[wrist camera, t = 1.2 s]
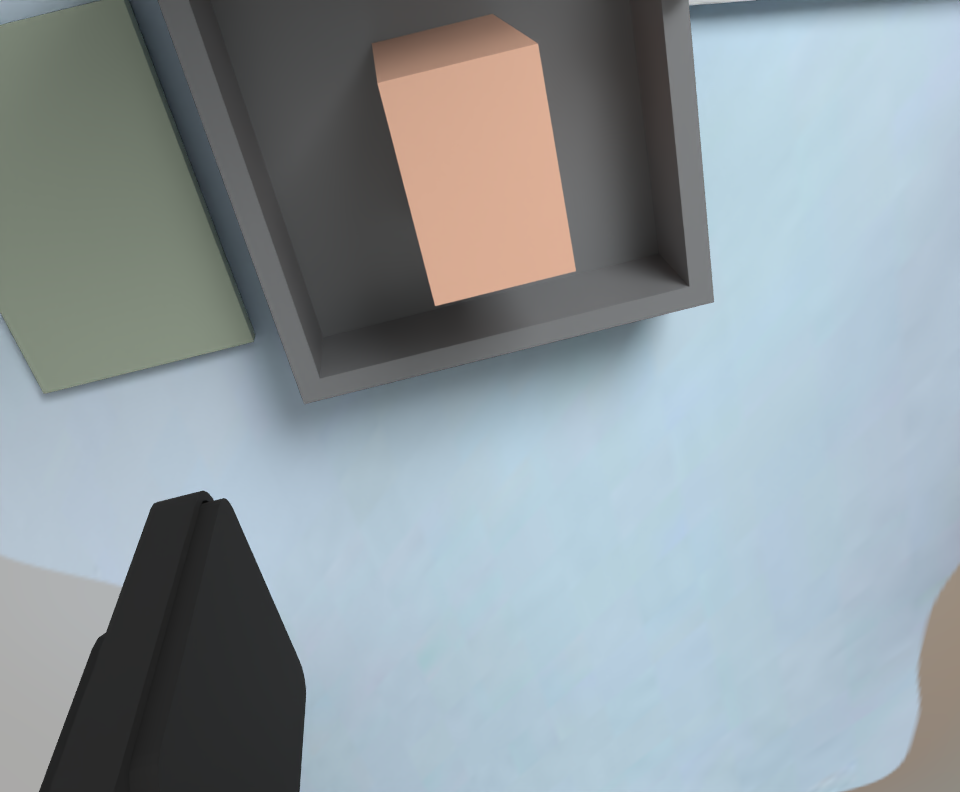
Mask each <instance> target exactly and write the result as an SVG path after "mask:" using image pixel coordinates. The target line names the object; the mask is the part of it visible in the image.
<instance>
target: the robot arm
mask: <svg viewBox="0 0 960 792" xmlns="http://www.w3.org/2000/svg"><path fill="white" fill-rule="evenodd" d="M305 702H306V686H305V679H304V674H303V670H302V666H301V664H300V661H299V659H298V656H297V654H296V652H295V649H294V647H293V645H292V643H291V640H290V638H289V636H288V633H287V631H286V629H285V627H284V624H283V622H282V620H281V617H280V615H279V613H278V611H277V608H276V606H275V604H274V601H273V599H272V597H271V595H270V592H269V590H268V588H267V585H266V583H265V581H264V579H263V576H262V574H261V572H260V569H259V567H258V565H257V563H256V560H255V558H254V556H253V553H252V551H251V549H250V547H249V544H248V542H247V540H246V537H245V535H244V533H243V530H242V528H241V526H240V524H239V521H238V519H237V517H236V514H235V512H234V510H233V508H232V506H231V504H230V503H229V502H228V500H227V499H224V498H223V499H219V500H215V501H214V500H213V498H212V497H211V496H210V495H209V493H208V492H205V491H200V492H196V493H192V494H188V495H184V496H180V497H176V498H172V499H168V500H164V501H160V502H157V503H154V504H153V506H152V508H151V509H150V512H149V515H148V518H147V520H146V523H145V526H144V529H143V532H142V534H141V537H140V540H139V543H138V545H137V548H136V551H135V554H134V557H133V559H132V562H131V565H130V568H129V570H128V573H127V576H126V579H125V582H124V584H123V587H122V590H121V593H120V596H119V598H118V601H117V604H116V607H115V609H114V612H113V615H112V618H111V620H110V623H109V626H108V629H107V632H106V633H105V634H103V635H102V636H100V637H99V638H98V639H97V641H96V643H95V645H94V647H93V648H92V651H91V654H90V656H89V659H88V662H87V664H86V667H85V669H84V672H83V675H82V677H81V681H80V683H79V686H78V688H77V691H76V694H75V696H74V699H73V702H72V705H71V707H70V710H69V713H68V715H67V718H66V721H65V723H64V726H63V729H62V731H61V734H60V737H59V739H58V742H57V745H56V747H55V750H54V753H53V756H52V758H51V761H50V764H49V766H48V769H47V772H46V775H45V777H44V780H43V783H42V785H41V788H40V791H39V792H299V791H300V776H301V761H302V747H303V732H304V717H305Z"/></svg>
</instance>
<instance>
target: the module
mask: <svg viewBox="0 0 960 792" xmlns="http://www.w3.org/2000/svg"><path fill="white" fill-rule="evenodd" d="M372 49H373V56H374V63H375V70H376V77H377V84H378V87H379V91H380V95H381V99H382V103H383V107H384V111H385V114H386V118H387V122H388V126H389V130H390V134H391V138H392V141H393V145H394V149H395V153H396V157H397V161H398V165H399V168H400V172H401V176H402V180H403V184H404V188H405V192H406V195H407V199H408V203H409V207H410V211H411V215H412V219H413V223H414V226H415V230H416V234H417V238H418V242H419V246H420V250H421V253H422V257H423V261H424V265H425V269H426V273H427V277H428V280H429V284H430V288H431V292H432V296H433V300H434V304H435V306H438V305H442V304H446V303H450V302H454V301H458V300H462V299H466V298H470V297H474V296H478V295H482V294H486V293H490V292H494V291H498V290H502V289H506V288H510V287H514V286H518V285H522V284H526V283H530V282H534V281H538V280H542V279H547V278H551V277H555V276H559V275H563V274H567V273H571V272H575V271H576V268H575V262H574V256H573V250H572V244H571V238H570V232H569V226H568V220H567V214H566V208H565V202H564V196H563V190H562V184H561V178H560V172H559V166H558V160H557V154H556V148H555V142H554V136H553V130H552V124H551V118H550V112H549V106H548V100H547V94H546V88H545V82H544V76H543V70H542V64H541V58H540V52H539V46H538V43H536V42H535V41H533V40H532V39H530V38H529V37H527V36H526V35H524V34H523V33H521V32H520V31H518V30H516V29H515V28H513V27H512V26H510V25H509V24H507V23H506V22H504V21H503V20H501V19H500V18H498V17H496V16H495V15H493V14H490V15H486V16H482V17H478V18H473V19H469V20H465V21H461V22H457V23H453V24H449V25H445V26H441V27H437V28H433V29H429V30H425V31H421V32H417V33H413V34H408V35H404V36H400V37H396V38H392V39H388V40H384V41H380V42H376V43H372Z"/></svg>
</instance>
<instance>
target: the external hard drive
mask: <svg viewBox="0 0 960 792" xmlns="http://www.w3.org/2000/svg"><path fill="white" fill-rule="evenodd" d="M739 1H754V0H689V5H701V4H716V3H728V2H739Z"/></svg>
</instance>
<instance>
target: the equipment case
mask: <svg viewBox="0 0 960 792" xmlns="http://www.w3.org/2000/svg"><path fill="white" fill-rule="evenodd" d="M158 3H159V6H160V8H161V11H162V14H163V17H164V19H165V22H166V25H167V28H168V30H169V33H170V36H171V39H172V41H173V44H174V47H175V50H176V52H177V55H178V58H179V61H180V63H181V66H182V69H183V72H184V74H185V77H186V80H187V83H188V85H189V88H190V91H191V94H192V96H193V99H194V102H195V105H196V108H197V110H198V113H199V116H200V119H201V121H202V124H203V127H204V130H205V132H206V135H207V138H208V141H209V143H210V146H211V149H212V152H213V154H214V157H215V160H216V163H217V165H218V168H219V171H220V174H221V176H222V179H223V182H224V185H225V187H226V190H227V193H228V196H229V198H230V201H231V204H232V207H233V209H234V212H235V215H236V218H237V220H238V223H239V226H240V229H241V231H242V234H243V237H244V240H245V242H246V245H247V248H248V251H249V253H250V256H251V259H252V262H253V264H254V267H255V270H256V273H257V275H258V278H259V281H260V284H261V286H262V289H263V292H264V295H265V297H266V300H267V303H268V306H269V308H270V311H271V314H272V317H273V319H274V322H275V325H276V328H277V330H278V333H279V336H280V339H281V341H282V344H283V347H284V350H285V352H286V355H287V358H288V361H289V364H290V366H291V369H292V372H293V375H294V377H295V380H296V383H297V386H298V388H299V391H300V394H301V397H302V399H303V402H304V404H307V403H311V402H315V401H319V400H323V399H327V398H331V397H335V396H339V395H343V394H347V393H351V392H355V391H359V390H363V389H367V388H371V387H375V386H379V385H383V384H387V383H391V382H395V381H399V380H403V379H407V378H411V377H415V376H419V375H423V374H427V373H431V372H435V371H439V370H443V369H447V368H451V367H455V366H459V365H463V364H467V363H471V362H475V361H479V360H483V359H487V358H491V357H495V356H499V355H504V354H508V353H512V352H516V351H520V350H524V349H528V348H532V347H536V346H540V345H544V344H548V343H552V342H556V341H560V340H564V339H568V338H572V337H576V336H580V335H584V334H588V333H592V332H596V331H600V330H604V329H608V328H612V327H616V326H620V325H624V324H628V323H632V322H636V321H640V320H644V319H648V318H652V317H656V316H660V315H664V314H668V313H672V312H676V311H680V310H684V309H688V308H692V307H696V306H700V305H704V304H708V303H712V302H714V296H713V284H712V272H711V260H710V249H709V237H708V225H707V213H706V201H705V189H704V177H703V165H702V154H701V142H700V130H699V118H698V106H697V94H696V82H695V71H694V59H693V47H692V35H691V23H690V11H689V0H158ZM490 14H493V15H495V16H496V17H498V18H500V19H501V20H503V21H504V22H506V23H507V24H509V25H510V26H512V27H513V28H515V29H516V30H518V31H520V32H521V33H523V34H524V35H526V36H527V37H529V38H530V39H532V40H533V41H535V42H536V43H538V46H539V52H540V58H541V64H542V70H543V76H544V82H545V88H546V94H547V100H548V106H549V112H550V118H551V124H552V130H553V136H554V142H555V148H556V154H557V160H558V166H559V172H560V178H561V184H562V190H563V196H564V202H565V208H566V214H567V220H568V226H569V232H570V238H571V244H572V250H573V256H574V262H575V268H576V271H575V272H571V273H567V274H563V275H559V276H555V277H551V278H547V279H542V280H538V281H534V282H530V283H526V284H522V285H518V286H514V287H510V288H506V289H502V290H498V291H494V292H490V293H486V294H482V295H478V296H474V297H470V298H466V299H462V300H458V301H454V302H450V303H446V304H442V305H438V306H435V304H434V300H433V296H432V292H431V288H430V284H429V280H428V277H427V273H426V269H425V265H424V261H423V257H422V253H421V250H420V246H419V242H418V238H417V234H416V230H415V226H414V223H413V219H412V215H411V211H410V207H409V203H408V199H407V195H406V192H405V188H404V184H403V180H402V176H401V172H400V168H399V165H398V161H397V157H396V153H395V149H394V145H393V141H392V138H391V134H390V130H389V126H388V122H387V118H386V114H385V111H384V107H383V103H382V99H381V95H380V91H379V87H378V84H377V77H376V70H375V63H374V56H373V49H372V43H376V42H380V41H384V40H388V39H392V38H396V37H400V36H404V35H408V34H413V33H417V32H421V31H425V30H429V29H433V28H437V27H441V26H445V25H449V24H453V23H457V22H461V21H465V20H469V19H473V18H478V17H482V16H486V15H490Z"/></svg>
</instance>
